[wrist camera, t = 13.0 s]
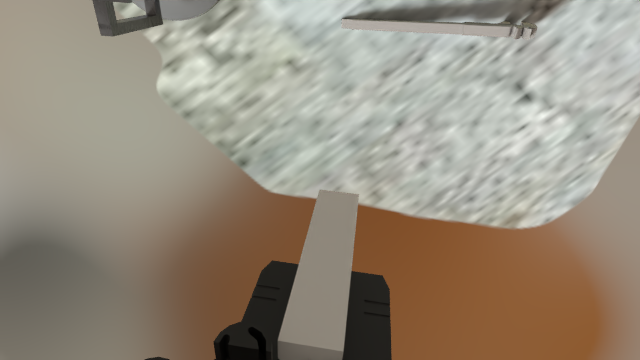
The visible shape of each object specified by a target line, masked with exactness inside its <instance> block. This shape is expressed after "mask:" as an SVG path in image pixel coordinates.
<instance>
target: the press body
mask: <svg viewBox="0 0 640 360" xmlns="http://www.w3.org/2000/svg"><path fill="white" fill-rule="evenodd" d="M113 2H124V3H131V2H132V0H93V4H94V8H95V12H96V16H97V21H98V25H99V29H100V33H101V35H102V36H117V35H121V34H125V33H129V32H133V31H137V30H141V29H146V28H150V27H154V26H158V25H162V24H163V21H162V15H161V8H160V2H159V0H144V3H145V9H146V14H147V15H143V16H138V17H132V18H127V19H122V20H116V16H115V11H114V6H113Z"/></svg>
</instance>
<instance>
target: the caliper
mask: <svg viewBox="0 0 640 360" xmlns="http://www.w3.org/2000/svg"><path fill="white" fill-rule="evenodd" d="M342 28H348V29H356V30H377V31H399V32H420V33H442V34H462V35H472V36H493V37H514V39H519V38H520V37H522V38H523V39H527V40H529V38H535V34H536V30H537V26H536V25H534V24H531V23H528V22H521V25H510V22H509V21H504V22H501V23H498V24H491V23H474V22H465V23H454V22H427V21H401V20H375V19H342Z"/></svg>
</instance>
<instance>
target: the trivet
mask: <svg viewBox="0 0 640 360" xmlns="http://www.w3.org/2000/svg"><path fill="white" fill-rule="evenodd" d="M218 1H219V0H159V2H160V8H161V15H162V18H163V19H168V20H187V19H192V18H195V17H198V16H200V15H202V14H204V13H206V12H207V11H209V10H210V9H211V8H213V7H214V6H215V5H216V4H217V3H218ZM132 2H133V3H134V4H136V5H137V6H138V7H140V8H141V9H143V10H144V11H146V9H145V3H144V0H132Z"/></svg>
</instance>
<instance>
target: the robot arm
mask: <svg viewBox="0 0 640 360" xmlns="http://www.w3.org/2000/svg"><path fill="white" fill-rule="evenodd" d="M358 197H359V194H351V193H343V192H335V191H327V190H319V194H318V198H317V201H316V205H315V208H314V212H313V215H312V219H311V223H310V226H309V230H308V233H307V237H306V241H305V244H304V248H303V252H302V255H301V259H300V262H299V264H292V263H286V262H279V261H271V262H270V263H269V264H268V265H267V266H266V267H265V268H264V269H263V270H262V272H261V274H260V276H259V279H258V282H257V284H256V287H255V289H254V291H253V294H252V298H251V299H250V301H249V304H248V307H247V309H246V311H245V314H244V317H243V319H242V322H239V323H236V324H233V325H230V326H228V327H227V328H226V329H224V330H223V331H221V332H220V334H219V335H218V336H217V338H216V339H215V341H214V348H215V355H216V359H215V360H391V327H390V291H389V288H388V285H387V284H386V282H385V280H384V278H383V276H382V275H374V274H368V273H361V272H353V271H351V269H352V259H353V248H354V238H355V227H356V218H357V207H358ZM145 360H169V359H165V358H161V357H155V358H149V359H145Z"/></svg>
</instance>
